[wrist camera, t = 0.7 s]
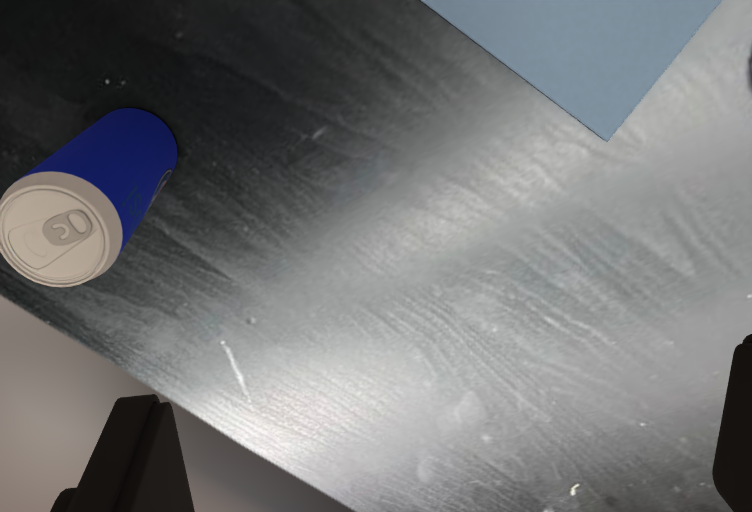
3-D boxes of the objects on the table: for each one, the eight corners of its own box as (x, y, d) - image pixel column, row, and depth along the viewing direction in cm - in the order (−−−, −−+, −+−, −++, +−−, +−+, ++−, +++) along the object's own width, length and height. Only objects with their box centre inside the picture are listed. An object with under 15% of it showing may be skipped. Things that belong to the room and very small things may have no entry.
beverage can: (123, 200, 43) (37, 311, 29) (76, 128, 41) (-42, 211, 27) (194, 166, 42) (140, 262, 29) (150, 91, 40) (69, 157, 26)
